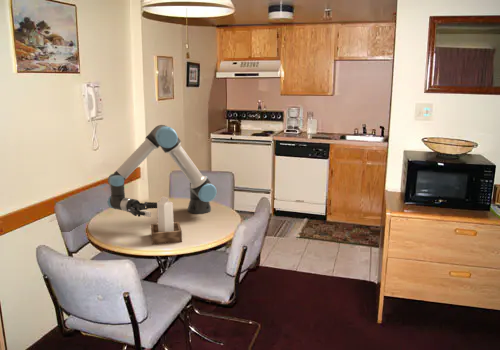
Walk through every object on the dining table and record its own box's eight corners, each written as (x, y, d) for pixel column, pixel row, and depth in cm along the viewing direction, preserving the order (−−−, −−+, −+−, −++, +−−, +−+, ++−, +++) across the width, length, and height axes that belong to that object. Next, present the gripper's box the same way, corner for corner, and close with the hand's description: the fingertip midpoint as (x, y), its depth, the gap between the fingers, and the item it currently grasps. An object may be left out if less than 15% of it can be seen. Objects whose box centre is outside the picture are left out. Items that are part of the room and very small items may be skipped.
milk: (167, 233, 233) (165, 194, 228) (174, 236, 229) (172, 196, 224) (158, 236, 228) (156, 197, 224) (165, 239, 224) (163, 199, 220)
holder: (179, 232, 238) (179, 222, 237) (181, 242, 223) (181, 231, 222) (151, 234, 234) (150, 224, 233) (152, 244, 220) (151, 233, 218)
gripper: (146, 206, 249) (174, 211, 239) (113, 217, 228) (142, 224, 218) (146, 194, 248) (174, 199, 237) (113, 204, 227) (142, 210, 216)
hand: (159, 211), depth 228 cm, fingers open, 13 cm apart
